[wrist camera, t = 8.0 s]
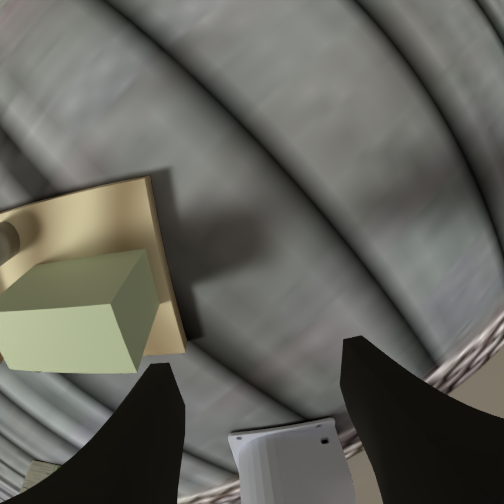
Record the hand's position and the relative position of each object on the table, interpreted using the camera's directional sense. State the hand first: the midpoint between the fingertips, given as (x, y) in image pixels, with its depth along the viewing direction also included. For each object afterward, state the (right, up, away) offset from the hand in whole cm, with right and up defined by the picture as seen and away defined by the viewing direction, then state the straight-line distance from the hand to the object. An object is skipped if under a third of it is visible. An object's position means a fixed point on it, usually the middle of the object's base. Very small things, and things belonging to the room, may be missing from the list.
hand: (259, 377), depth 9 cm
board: (-13, +2, +9) cm, 16 cm away
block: (-10, +2, +8) cm, 13 cm away
